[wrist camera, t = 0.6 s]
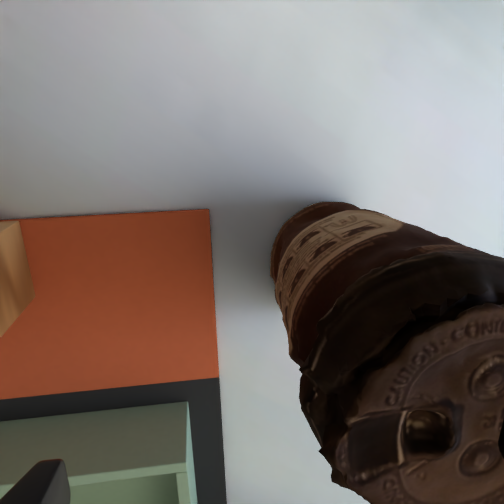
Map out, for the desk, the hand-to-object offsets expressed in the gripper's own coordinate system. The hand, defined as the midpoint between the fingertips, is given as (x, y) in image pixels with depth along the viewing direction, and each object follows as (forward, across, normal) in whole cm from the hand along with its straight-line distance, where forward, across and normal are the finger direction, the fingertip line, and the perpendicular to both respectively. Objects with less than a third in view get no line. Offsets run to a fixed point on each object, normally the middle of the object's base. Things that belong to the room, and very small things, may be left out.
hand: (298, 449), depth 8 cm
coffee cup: (+14, -5, +1) cm, 15 cm away
